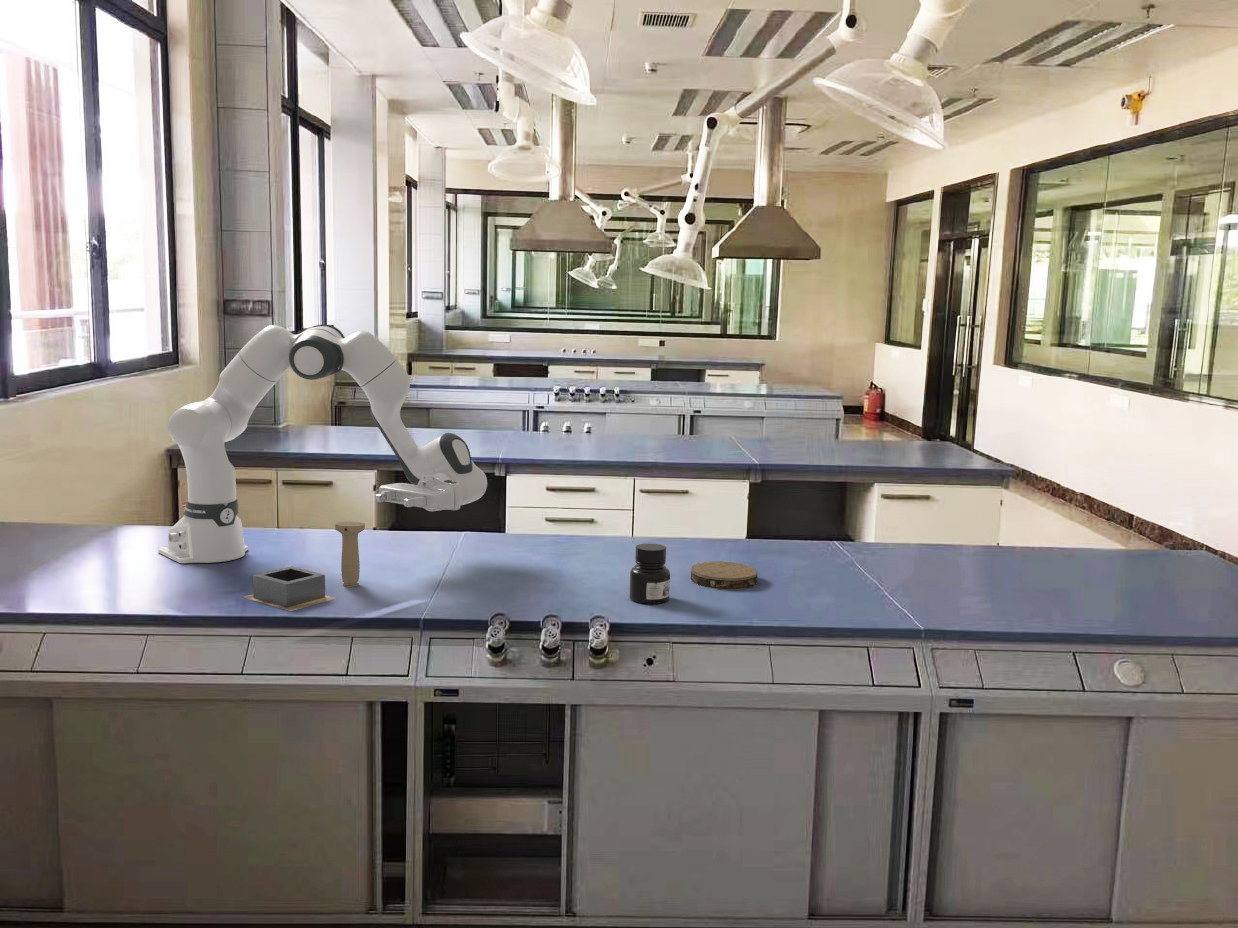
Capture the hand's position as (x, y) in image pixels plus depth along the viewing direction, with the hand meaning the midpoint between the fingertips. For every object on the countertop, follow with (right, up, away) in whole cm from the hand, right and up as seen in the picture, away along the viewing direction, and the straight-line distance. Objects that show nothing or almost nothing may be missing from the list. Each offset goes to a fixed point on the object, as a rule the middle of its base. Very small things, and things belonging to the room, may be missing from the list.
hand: (391, 500), depth 242 cm
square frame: (-18, -20, -18) cm, 32 cm away
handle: (-8, -20, -7) cm, 22 cm away
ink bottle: (+59, -22, -8) cm, 64 cm away
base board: (-18, -21, -18) cm, 33 cm away
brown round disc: (+78, -20, +9) cm, 81 cm away
